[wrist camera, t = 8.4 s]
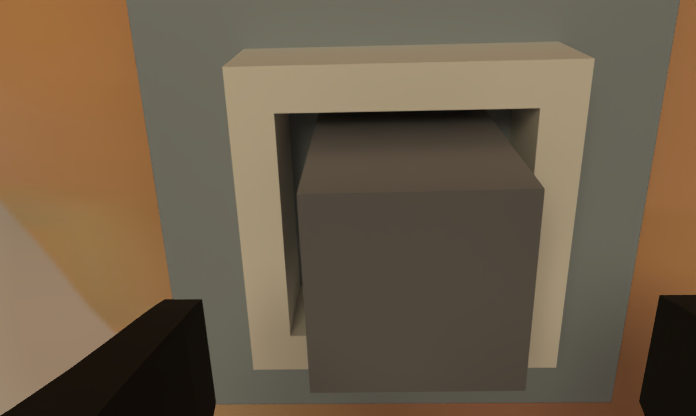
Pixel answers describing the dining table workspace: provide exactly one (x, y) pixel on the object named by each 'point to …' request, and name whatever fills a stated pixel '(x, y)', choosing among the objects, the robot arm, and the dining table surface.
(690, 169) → the dining table surface
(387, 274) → the plug
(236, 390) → the socket
